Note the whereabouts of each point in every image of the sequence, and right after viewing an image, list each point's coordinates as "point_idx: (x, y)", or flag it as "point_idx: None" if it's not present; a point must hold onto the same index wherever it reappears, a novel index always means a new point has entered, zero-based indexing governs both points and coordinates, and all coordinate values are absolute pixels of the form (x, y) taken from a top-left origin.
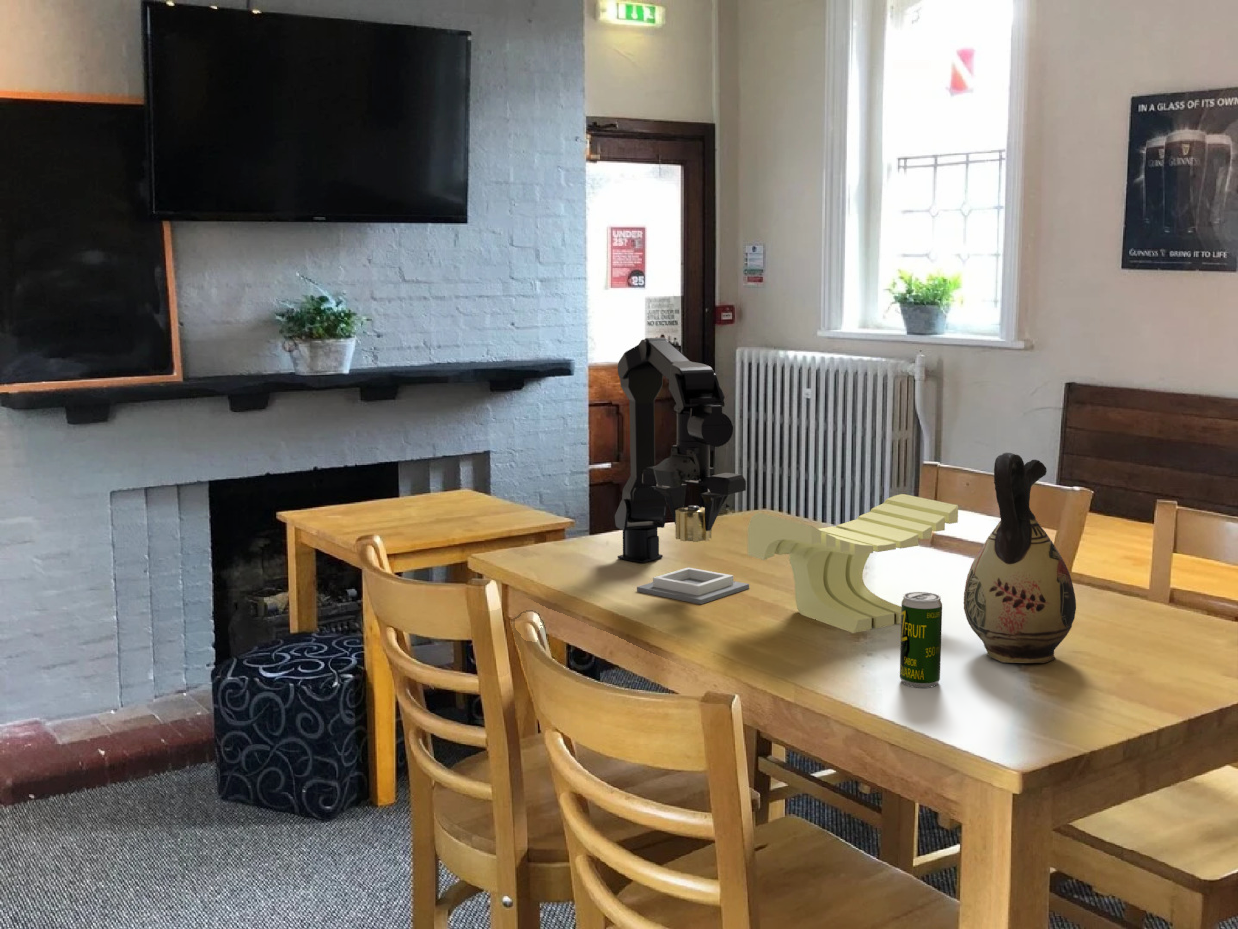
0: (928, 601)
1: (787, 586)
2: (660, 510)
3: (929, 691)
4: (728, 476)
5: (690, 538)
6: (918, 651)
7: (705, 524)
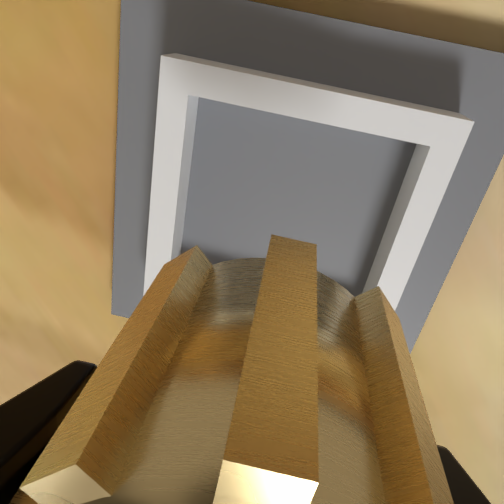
0: None
1: (41, 367)
2: None
3: None
4: None
5: (227, 273)
6: None
7: (55, 397)
